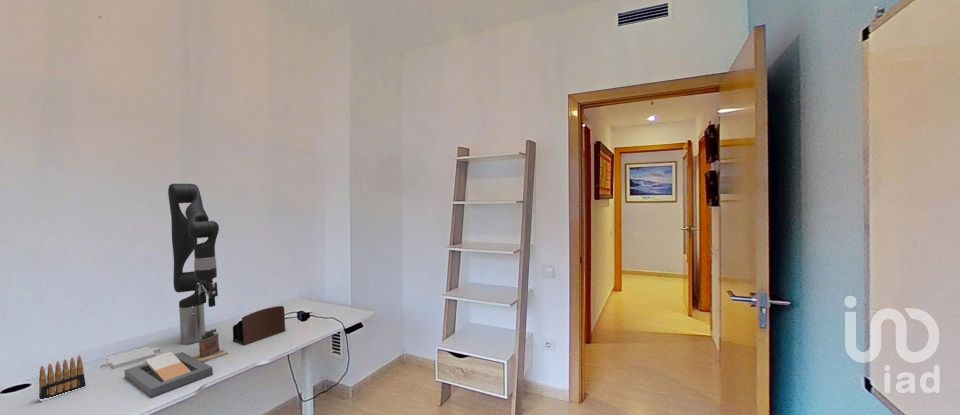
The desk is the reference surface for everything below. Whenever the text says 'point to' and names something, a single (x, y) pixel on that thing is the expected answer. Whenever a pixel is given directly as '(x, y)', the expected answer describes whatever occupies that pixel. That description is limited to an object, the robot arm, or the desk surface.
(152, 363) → the two-tone tile
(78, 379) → the ammunition clip
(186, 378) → the gray rectangular recessed tray
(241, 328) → the letter holder
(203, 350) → the lighter
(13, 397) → the desk surface
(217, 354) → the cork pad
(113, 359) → the mounting plate
